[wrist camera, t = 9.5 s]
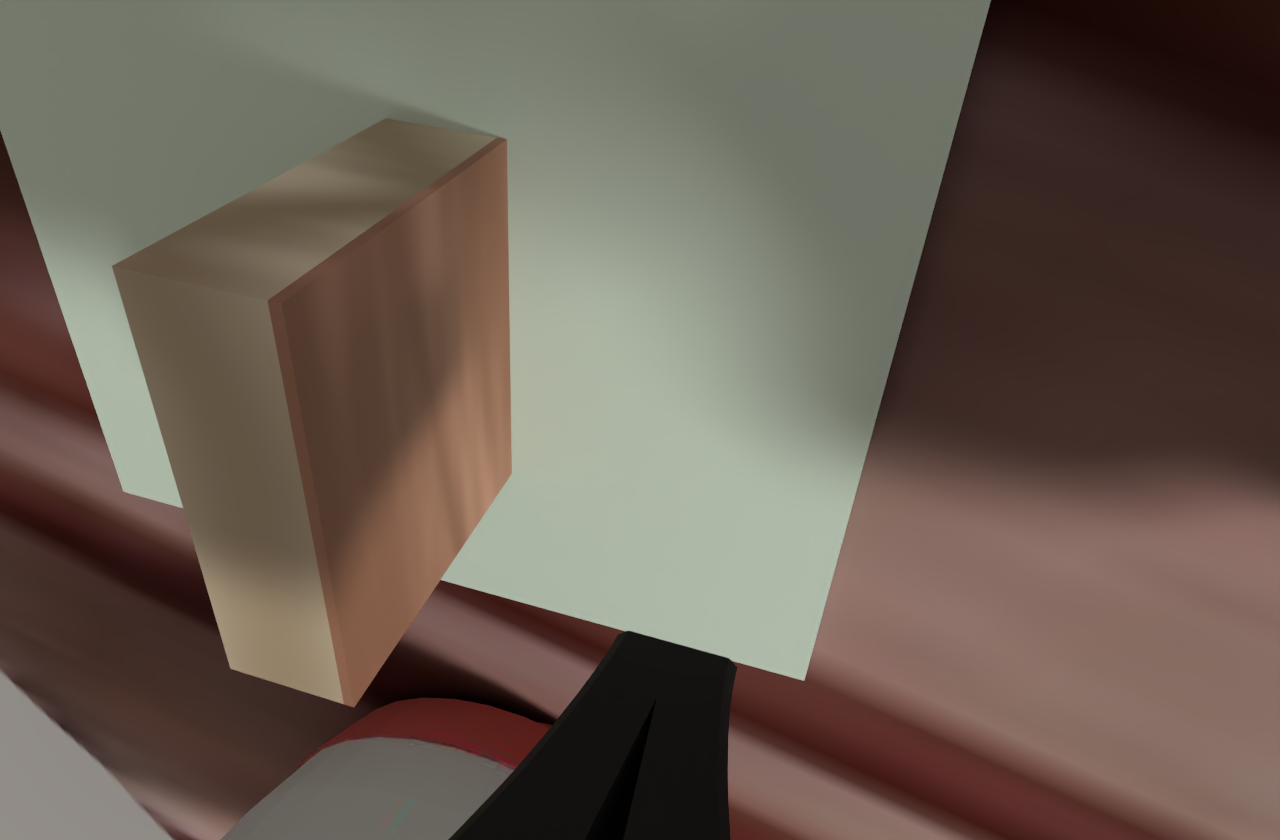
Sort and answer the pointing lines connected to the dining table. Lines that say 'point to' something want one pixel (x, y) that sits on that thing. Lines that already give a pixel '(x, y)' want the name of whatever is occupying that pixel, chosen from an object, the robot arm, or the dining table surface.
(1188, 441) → the dining table surface
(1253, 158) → the dining table surface
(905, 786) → the dining table surface
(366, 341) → the tile
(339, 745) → the citrus juicer
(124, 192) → the mat
